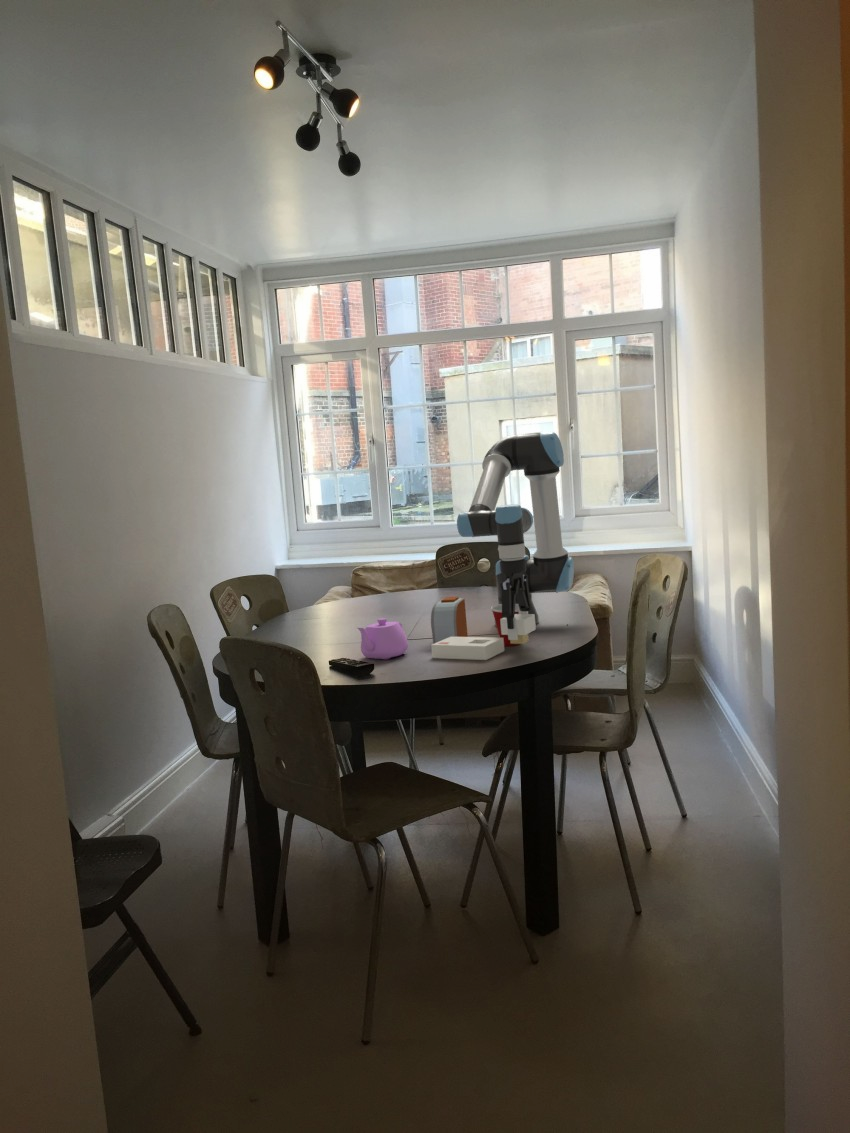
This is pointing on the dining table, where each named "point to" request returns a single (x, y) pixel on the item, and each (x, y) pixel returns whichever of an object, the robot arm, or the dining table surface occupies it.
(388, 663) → the dining table surface
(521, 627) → the plug
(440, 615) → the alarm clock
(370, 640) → the teapot
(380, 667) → the dining table surface
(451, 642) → the socket
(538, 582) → the robot arm
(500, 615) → the plastic cup
